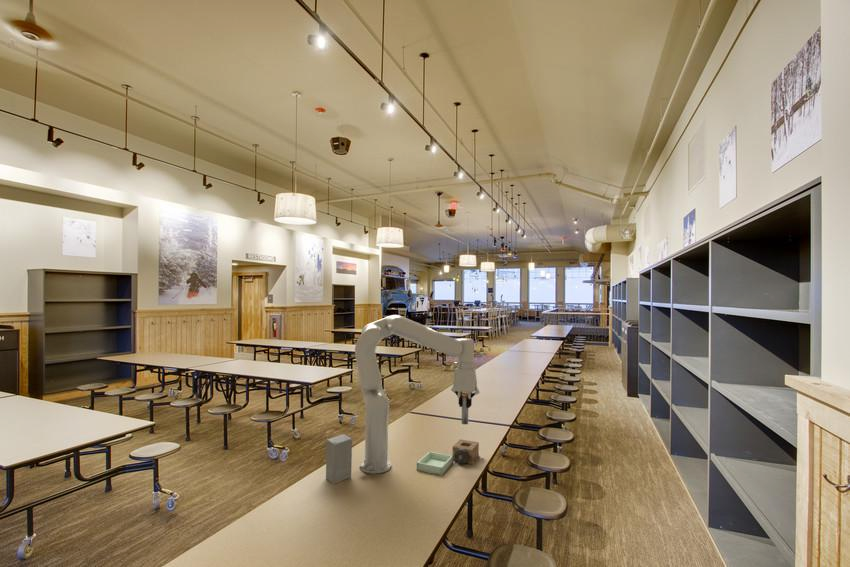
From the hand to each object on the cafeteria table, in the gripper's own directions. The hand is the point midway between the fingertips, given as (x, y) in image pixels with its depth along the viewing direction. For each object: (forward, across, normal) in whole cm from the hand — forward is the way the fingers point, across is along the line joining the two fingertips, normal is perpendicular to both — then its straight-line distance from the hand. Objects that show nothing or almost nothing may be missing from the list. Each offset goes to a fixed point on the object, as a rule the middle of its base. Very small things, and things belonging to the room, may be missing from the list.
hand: (465, 406), depth 173 cm
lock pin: (+8, 0, 0) cm, 8 cm away
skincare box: (+24, -39, -40) cm, 61 cm away
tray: (+23, -9, -14) cm, 28 cm away
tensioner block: (+23, 0, -1) cm, 23 cm away
